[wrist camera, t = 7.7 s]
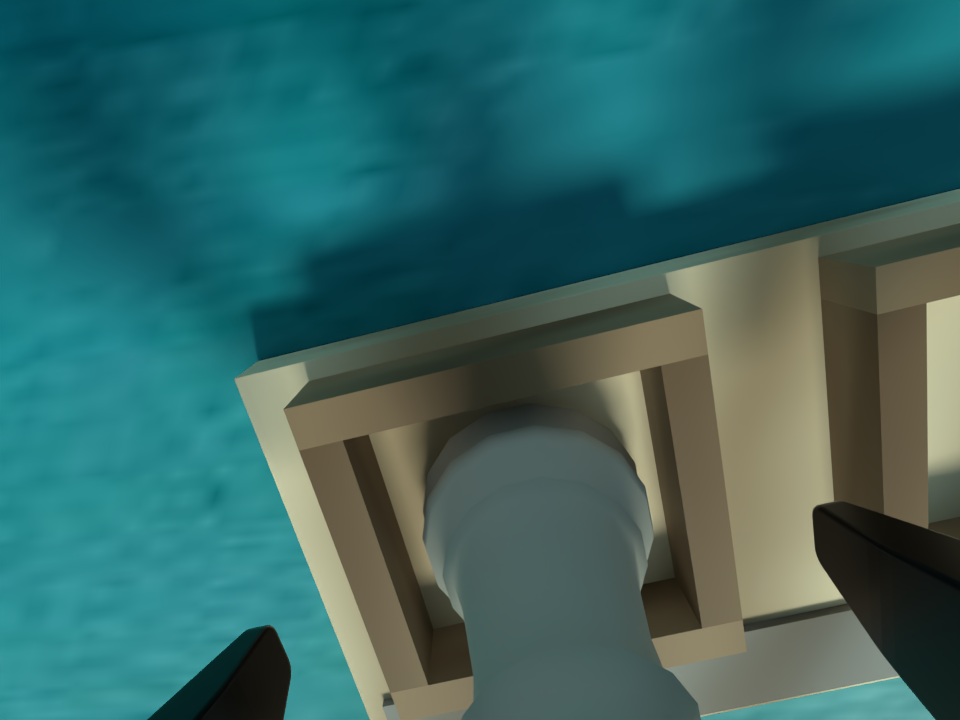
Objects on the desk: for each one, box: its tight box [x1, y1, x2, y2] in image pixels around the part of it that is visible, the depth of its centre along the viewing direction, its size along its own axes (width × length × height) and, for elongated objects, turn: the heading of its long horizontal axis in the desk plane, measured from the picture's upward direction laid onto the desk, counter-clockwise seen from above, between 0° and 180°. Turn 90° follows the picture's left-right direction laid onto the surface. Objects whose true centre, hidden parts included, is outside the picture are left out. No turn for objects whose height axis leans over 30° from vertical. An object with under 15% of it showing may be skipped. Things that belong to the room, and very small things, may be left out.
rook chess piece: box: [422, 403, 701, 720], centre depth 8 cm, size 4×4×8 cm
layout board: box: [235, 189, 960, 720], centre depth 11 cm, size 20×11×3 cm, turn 104°
